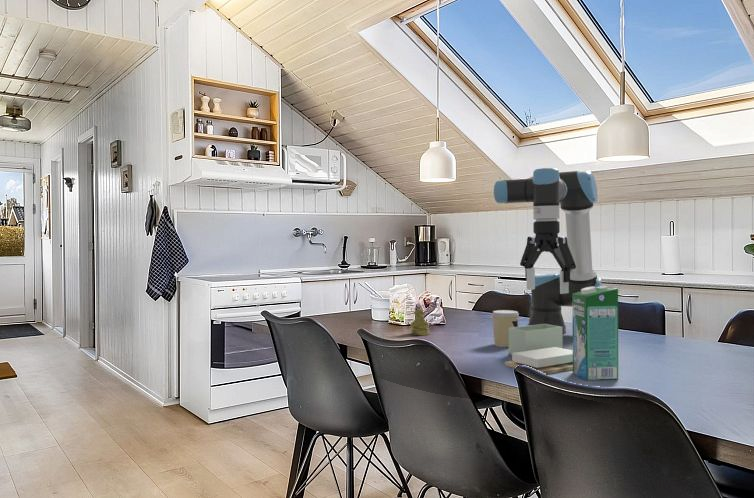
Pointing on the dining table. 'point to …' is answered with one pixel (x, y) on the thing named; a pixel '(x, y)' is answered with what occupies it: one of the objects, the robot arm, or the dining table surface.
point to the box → (534, 337)
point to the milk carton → (595, 332)
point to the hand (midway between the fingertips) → (547, 291)
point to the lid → (543, 357)
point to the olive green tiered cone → (419, 324)
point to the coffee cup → (503, 326)
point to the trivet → (546, 367)
